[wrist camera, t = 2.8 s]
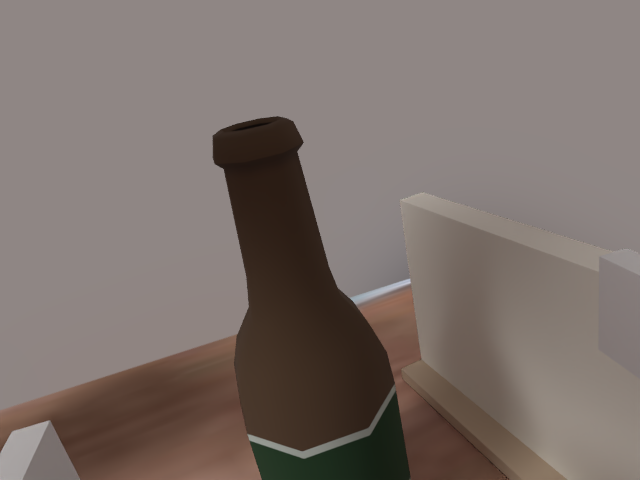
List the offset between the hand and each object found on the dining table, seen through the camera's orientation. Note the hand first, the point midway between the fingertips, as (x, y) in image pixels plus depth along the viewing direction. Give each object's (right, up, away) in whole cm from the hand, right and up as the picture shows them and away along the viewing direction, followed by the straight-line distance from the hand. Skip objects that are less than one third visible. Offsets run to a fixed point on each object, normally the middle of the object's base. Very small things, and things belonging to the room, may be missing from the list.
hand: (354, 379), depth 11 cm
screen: (+13, -10, +21) cm, 26 cm away
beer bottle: (+1, -14, +17) cm, 22 cm away
